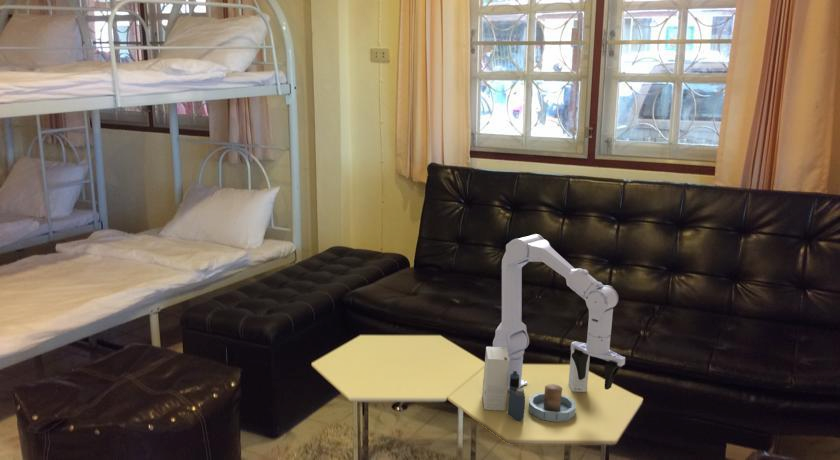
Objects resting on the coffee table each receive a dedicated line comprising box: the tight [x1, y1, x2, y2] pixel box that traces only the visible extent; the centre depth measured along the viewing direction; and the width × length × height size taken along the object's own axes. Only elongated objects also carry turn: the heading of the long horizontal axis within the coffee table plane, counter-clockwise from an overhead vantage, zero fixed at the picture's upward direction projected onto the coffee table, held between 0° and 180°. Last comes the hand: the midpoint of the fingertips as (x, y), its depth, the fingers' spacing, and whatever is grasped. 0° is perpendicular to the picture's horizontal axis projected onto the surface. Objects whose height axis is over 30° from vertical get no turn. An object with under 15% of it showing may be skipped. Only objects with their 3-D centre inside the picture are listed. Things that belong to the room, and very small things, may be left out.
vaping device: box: [507, 371, 526, 422], centre depth 183 cm, size 3×5×12 cm, turn 27°
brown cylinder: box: [544, 383, 563, 412], centre depth 187 cm, size 4×4×6 cm
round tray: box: [528, 391, 577, 423], centre depth 188 cm, size 12×12×2 cm
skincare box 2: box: [568, 349, 591, 393], centre depth 201 cm, size 6×4×12 cm
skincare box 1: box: [481, 346, 510, 411], centre depth 189 cm, size 8×6×15 cm
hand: (594, 383), depth 183 cm, fingers open, 7 cm apart
